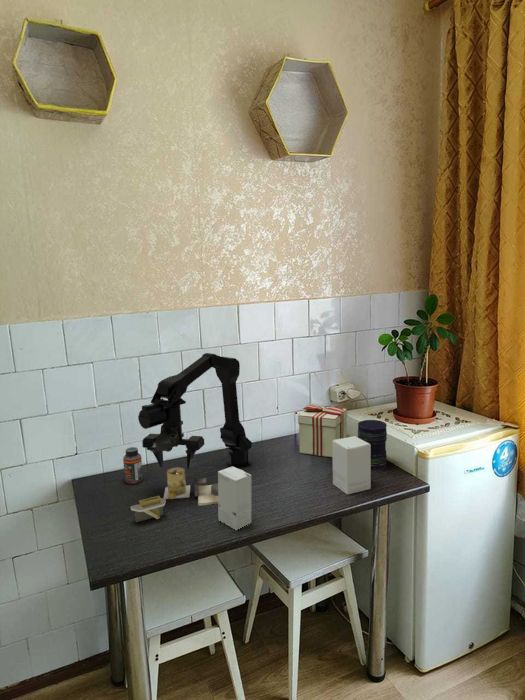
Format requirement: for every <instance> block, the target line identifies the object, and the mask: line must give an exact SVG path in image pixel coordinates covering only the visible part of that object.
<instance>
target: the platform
mask: <svg viewBox="0 0 525 700" xmlns="http://www.w3.org/2000/svg"><path fill="white" fill-rule="evenodd" d="M166 500H167V499H165V498H164V497H162V498H161V497H160V495H157V496H153V497H149V498H145V499H141V500H138V502H139V504H134V505H131V506H130V511H132V512H134V516H135V518H134V519H135V523H137V522H138V523H139V522H142V521H146V520H149V519H153V518H155V519H156V520H158V519H160V520H161V516H163V515H164V510H163V509H164V506H165V505H166V502H167V501H166Z"/></svg>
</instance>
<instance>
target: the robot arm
mask: <svg viewBox="0 0 525 700" xmlns="http://www.w3.org/2000/svg"><path fill="white" fill-rule="evenodd" d="M240 367H241V363H240V361H239V360H238V359H237V358H235V357H229V356H220V355H217V354H215V353H212V352H211V353H210V352H205V353H204V354H202V355H201V357H199V358H198V359H196V360H195V361H194V362H193V363H191V364H190V365H189V366H187V367H186V368H185V369H183V370H182V371H181V372H179V373H178V374H174V375H171V376H168V377H165V378H163V379H162V380H160V381H159V382H158V384H157V388H156V390H155V392H154V393H153V396H152V398H151V400H150V404H145V405H142V406H141V410H140V411H139V412H138V416H137V419H138V423H139V425H140V427H141V428H142V429H144V430H147V429H150V428H154V427H157V426H160V433H149V434H148V435H146V436H145V437H144V438H143V439H142V440H141V442H142V443H141V444H142V448H144V449H145V448H146V450H147V451H150V452H151V453H152V454H153V455H154V457H155V459H156V461H157V463H158V465H159V467H160V468H162V467H163V466H164V452H171V451H172V450H173V448H174V447H176V448H177V447H178V446H185V448H186V450H185V453H186V469H187V470H189V469H191V465H192V462H193V460H194V457H195V454H196V452H197V451H199V450H200V449H201V448H202V447H204V445H205V439H204V437H203V436H202V435H191V436H190V437H189V438H184V436H185V434H184V432H183V430H182V429H183V428H182V425H183V424H184V421H183V420H182V412H181V411H182V410H181V406H182V405H184V404H186V403H187V401H186V400H184V399H182V397H183V395H185V394H186V392H187V390H188V387H189V386H190V385H191V384H192V383H193V382H195V381H196V380H197V379H199V378H200V377H201V376H203V375H204V374H205V373H206V372H208V371H209V370H210V369H212V368H213V369H214V370H215V374H216V376H217V378H218V380H219V381H220V383H221V390H222V391H221V392H222V402H223V411H224V424H223V426H222V427H220V428H219V433H220V439H221V441H222V443H224V447H225V448H228V452H227V464H228V465H230V467H232V466H233V467H235V468H238V469H240V468H243V467H246V466H250V465H251V464H252V463H251V462H250V461H249V450H250V449H252V445H253V442H252V441H251V440H250V439H249V438H248V437H247V435H246V430H245V427H244V425H243V424H242V422H241V421H240V414H239V413H240V412H239V403H238V392H237V391H238V390H237V389H238V388H237V381H238V379H239V376H240V373H241V372H240V369H241V368H240Z"/></svg>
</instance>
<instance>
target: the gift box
mask: <svg viewBox="0 0 525 700" xmlns="http://www.w3.org/2000/svg"><path fill="white" fill-rule="evenodd" d="M302 409H303V410H304V411H303V412H302V413H299V415H298V416H297V424H298V434H299V435H298V438H299V453H300V454H304V455H305V454H306V455H310V456H311V455H312V456H319V457H326V458H327V457H328V458H333V456H332V441H333V440H337V439H342V438H347V437H348V436H347V435H348V434H347V433H348V432H347V431H348V430H347V429H348V427H347V425H348V424H347V418H348V409H347V408H343V407H339V406H331V407H328V406H320V405H317V404H314V403H313V404H312V403H311V404H306V405H305V406H304V407H303V408H302Z"/></svg>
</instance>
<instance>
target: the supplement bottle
mask: <svg viewBox="0 0 525 700" xmlns="http://www.w3.org/2000/svg"><path fill="white" fill-rule="evenodd" d="M122 459H123V460H122V462H123V473H124V481H125V483H127V484H129V485H134V484H139V483H140V482H142V481H143V479H144V478H143V462H142V461H143V460H142V455H141V453H139V450H138V447H134V446H133V447H128V448H126V449H125V454H124V456H123V457H122Z"/></svg>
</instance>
